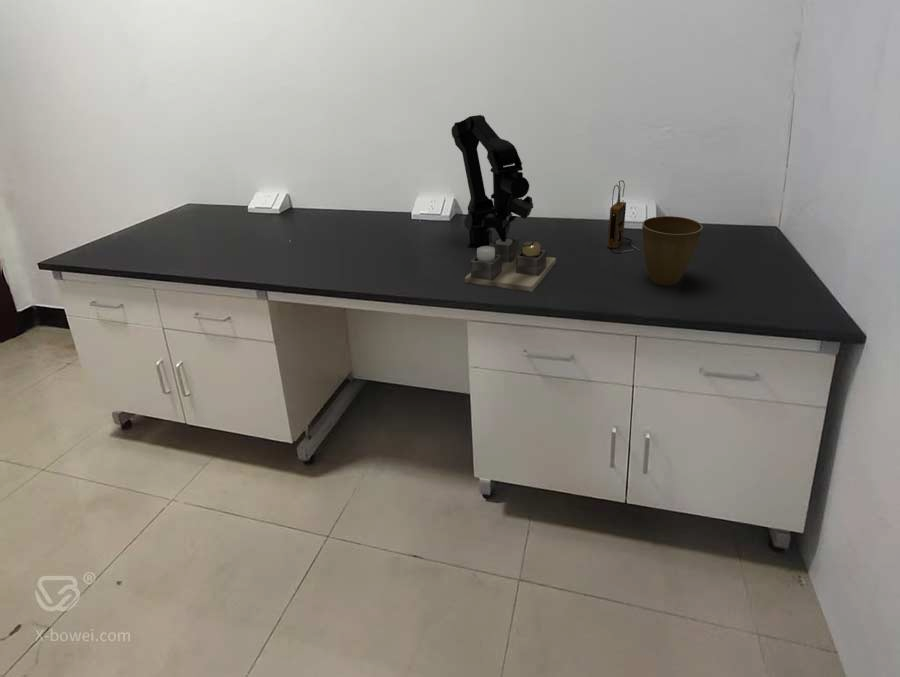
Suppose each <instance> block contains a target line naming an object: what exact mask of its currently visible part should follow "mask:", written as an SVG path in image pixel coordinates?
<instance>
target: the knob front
mask: <svg viewBox="0 0 900 677" xmlns="http://www.w3.org/2000/svg"><path fill="white" fill-rule="evenodd" d="M476 256H477V261H480V262H488V263H492V262H493V261H494V260H495V248H494V247H491V246H482V247H479V248H476Z"/></svg>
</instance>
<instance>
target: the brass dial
mask: <svg viewBox="0 0 900 677" xmlns="http://www.w3.org/2000/svg"><path fill="white" fill-rule="evenodd" d="M540 250H541V243H540V242H537V241H526V242H523V243H522V250H521V251H522V257H531V258H538V257H539V256H540Z"/></svg>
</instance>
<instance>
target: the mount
mask: <svg viewBox="0 0 900 677" xmlns="http://www.w3.org/2000/svg"><path fill="white" fill-rule="evenodd" d="M498 239H500V237H499V236H497V237H496V238H495V239H494V240H492V241H493V242H491V243H490V244H489V246H491V247H494V248H495V260H494V261H493V262H492V263H488V262H480V261H477V255H475V256H474V257H473V258H472V259H471V260H470V262H469V263H470V264H469V266H470V273H468V274H467V275H466V276H465V278H464V283H466V284H473V285H480V286H487V287H495V288H503V289H510V290H516V291H524V292H529V293H530V292H531V293H532V292H533V291H534V289H535V288H537V286H538V285H539V284H540V283H541V282H542V281H543V279H544V278H545V277H546V276H547V274H548V273H549V271H550V270H552V268H553V267H554V266H553V265H555V264H556V263H557V258H556V257H550V256H547V250H542V249H540V256H539V257H538V258H531V257H522V250H520V248H519V246H520V245H519V244H520V242H519V241H520V240H519V238H513V237H507V239H511V240H512V244H511V245H510V246H507V245H498V244H496V240H498ZM519 251H520V252H519Z"/></svg>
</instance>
